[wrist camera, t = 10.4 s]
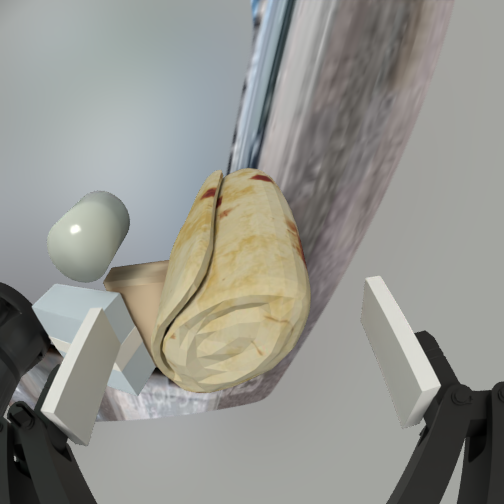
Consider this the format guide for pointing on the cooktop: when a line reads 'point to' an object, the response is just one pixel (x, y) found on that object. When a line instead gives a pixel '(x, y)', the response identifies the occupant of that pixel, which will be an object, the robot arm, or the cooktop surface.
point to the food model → (232, 286)
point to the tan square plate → (140, 294)
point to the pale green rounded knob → (88, 236)
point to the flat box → (132, 347)
